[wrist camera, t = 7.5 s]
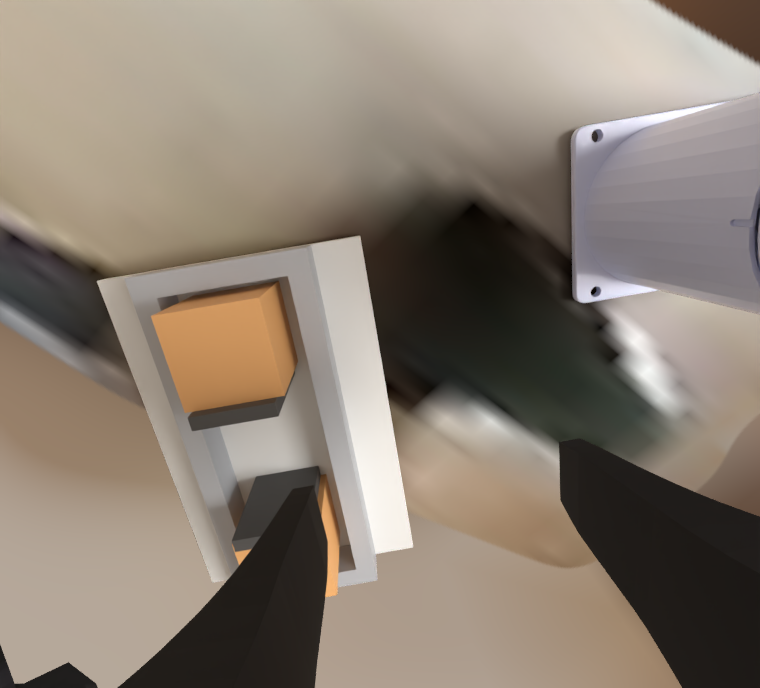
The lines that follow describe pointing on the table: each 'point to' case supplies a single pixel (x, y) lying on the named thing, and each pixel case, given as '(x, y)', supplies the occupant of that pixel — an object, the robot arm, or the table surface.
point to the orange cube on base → (229, 354)
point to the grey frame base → (296, 419)
